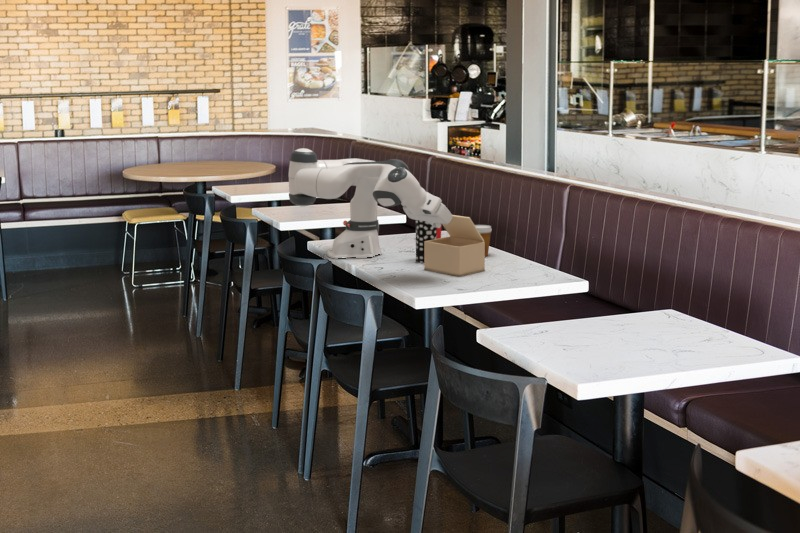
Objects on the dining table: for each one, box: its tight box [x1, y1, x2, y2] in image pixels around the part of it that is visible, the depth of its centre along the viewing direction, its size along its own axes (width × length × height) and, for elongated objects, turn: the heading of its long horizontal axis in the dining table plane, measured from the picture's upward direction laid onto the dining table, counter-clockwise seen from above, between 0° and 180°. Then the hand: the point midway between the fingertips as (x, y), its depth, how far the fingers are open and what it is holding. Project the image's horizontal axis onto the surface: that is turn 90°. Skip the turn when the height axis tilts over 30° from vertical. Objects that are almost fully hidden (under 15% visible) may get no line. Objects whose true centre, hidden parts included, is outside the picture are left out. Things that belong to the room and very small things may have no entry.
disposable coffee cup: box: [474, 224, 493, 258], centre depth 394 cm, size 10×10×12 cm
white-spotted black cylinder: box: [415, 220, 437, 264], centre depth 383 cm, size 8×8×20 cm
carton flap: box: [442, 214, 484, 242], centre depth 366 cm, size 13×17×1 cm
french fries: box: [437, 226, 442, 239], centre depth 423 cm, size 9×4×13 cm, turn 27°
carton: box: [423, 236, 486, 278], centre depth 366 cm, size 14×18×11 cm
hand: (437, 226), depth 357 cm, fingers closed
